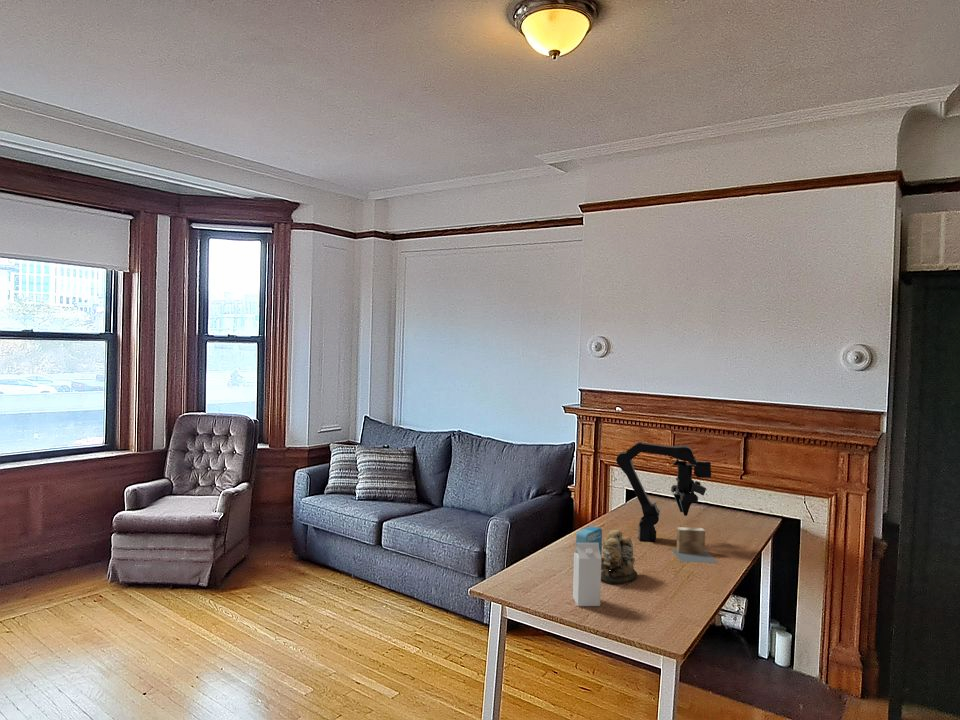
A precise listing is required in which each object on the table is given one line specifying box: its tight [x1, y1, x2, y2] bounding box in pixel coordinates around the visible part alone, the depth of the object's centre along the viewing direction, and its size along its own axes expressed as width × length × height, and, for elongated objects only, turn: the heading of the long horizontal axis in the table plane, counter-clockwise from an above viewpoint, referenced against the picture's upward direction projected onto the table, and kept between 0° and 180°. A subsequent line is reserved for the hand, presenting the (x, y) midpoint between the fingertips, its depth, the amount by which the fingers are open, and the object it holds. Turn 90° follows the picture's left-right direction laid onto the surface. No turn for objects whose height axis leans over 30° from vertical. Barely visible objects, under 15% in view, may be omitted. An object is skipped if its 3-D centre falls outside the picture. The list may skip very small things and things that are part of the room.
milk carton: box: [572, 543, 602, 607], centre depth 204 cm, size 7×7×19 cm
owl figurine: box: [601, 529, 638, 586], centre depth 227 cm, size 18×12×17 cm, turn 140°
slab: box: [676, 526, 706, 554], centre depth 255 cm, size 10×4×9 cm, turn 88°
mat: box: [670, 548, 719, 564], centre depth 251 cm, size 14×15×1 cm
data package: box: [575, 525, 603, 555], centre depth 244 cm, size 12×4×12 cm, turn 140°
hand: (683, 513), depth 266 cm, fingers open, 5 cm apart
